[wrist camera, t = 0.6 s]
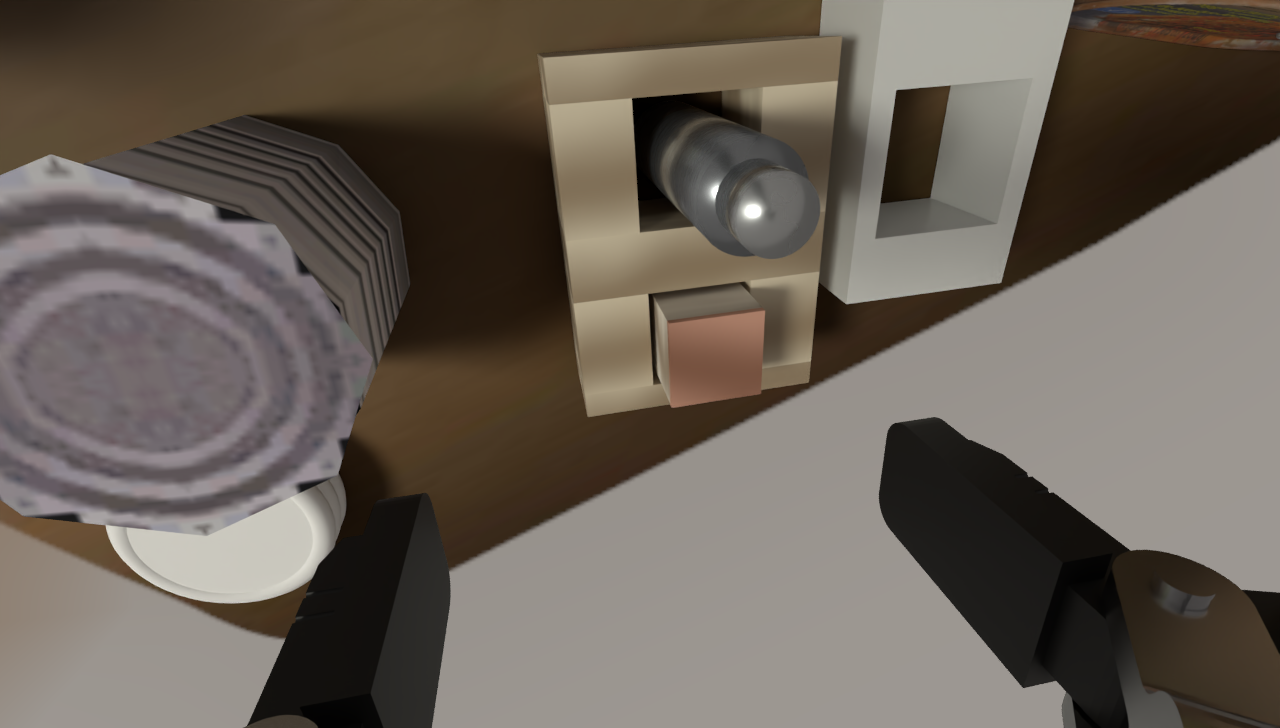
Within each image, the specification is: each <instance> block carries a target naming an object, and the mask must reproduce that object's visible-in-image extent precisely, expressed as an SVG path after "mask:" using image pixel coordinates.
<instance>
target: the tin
mask: <svg viewBox="0 0 1280 728" xmlns="http://www.w3.org/2000/svg"><path fill="white" fill-rule="evenodd" d="M1068 28H1074V29H1079V30H1085V31H1092V32H1100V33H1106V34H1115V35H1121V36H1129V37H1135V38H1143V39H1149V40H1157V41H1163V42H1170V43H1177V44H1185V45H1192V46H1199V47H1210V48H1223V49H1240V50H1275V51H1280V0H1074V4H1073V8H1072V11H1071V15H1070V19H1069V23H1068Z"/></svg>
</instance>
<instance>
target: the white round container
mask: <svg viewBox="0 0 1280 728" xmlns="http://www.w3.org/2000/svg"><path fill="white" fill-rule="evenodd" d="M345 513H346V493H345V489H344V485H343V482H342V480H341V477H340V475H339V473H338V476H336V477H334V478H331V479H329V480H327V481H325V482H323V483H321V484H318V485H316V486H314V487H312V488H310V489H308V490H305V491H303V492H301V493H299V494H297V495H295V496H292V497H290V498H288V499H286V500H284V501H282V502H279V503H277V504H275V505H273V506H271V507H269V508H266V509H264V510H262V511H260V512H258V513H256V514H253V515H251V516H249V517H247V518H245V519H243V520H240V521H238V522H236V523H234V524H232V525H230V526H227V527H225V528H223V529H221V530H219V531H217V532H214V533H212V534H210V535H208V536H202V535H193V534H183V533H174V532H165V531H155V530H146V529H137V528H128V527H118V526H109V525H106V530H107V533H108V536H109V539H110V541H111V543H112V545H113V547H114V549H115V551H116V552H117V553H118V554H119V556H120V557H121V558H122V560H123V561H124V562H125V563H126V564H127V565H129V566H130V567H131V568H132V569H133V570H134V571H135V572H136V573H138V574H139V575H140V576H141V577H143V578H144V579H146V580H148V581H149V582H151V583H152V584H154V585H156V586H158V587H160V588H162V589H164V590H166V591H169V592H172V593H174V594H177V595H180V596H184V597H187V598H191V599H195V600H201V601H206V602H216V603H246V602H254V601H261V600H265V599H270V598H273V597H277V596H280V595H283V594H285V593H288V592H290V591H293V590H295V589H297V588H298V587H300V586H302V585H304V584H305V583H307V582H308V581H309V580H311V579H312V578H313V576H314V574H315V571H316V569H317V567H318V565H319V563H320V562H321V561H322V560H323V559H324V558H325V557H326V556H327V555H328V554H329V553H330V552H331V551H332V550H333V548H334V546H335V542H336V540H337V538H338V535H339V532H340V529H341V525H342V523H343V520H344V517H345Z"/></svg>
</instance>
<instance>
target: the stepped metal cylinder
mask: <svg viewBox="0 0 1280 728" xmlns="http://www.w3.org/2000/svg"><path fill="white" fill-rule="evenodd" d="M634 142H635V159H636V164H637V166H638V168H639V169H640V170H641V171H642V172H643V173H644V174H645V175H646V176H647V177H648V179H649V180H650V181H651V182H652V183H653V184H654V185H655V186H656V187H657V188H658V189H659V190H660V191H661V192H662V193H663V194H664V195H665V196H666V197H667V198H668V199H669V200H670V201H671V202H672V203H673V204H674V205H675V207H676V208H677V209H678V210H679V211H680V212H681V213H682V214H683V215H684V216H685V217H686V218H687V219H688V220H689V221H690V222H691V223H692V224H693V225H694V226H695V227H696V228H697V229H698V230H699V231H700V232H701V233H702V234H703V236H704V237H705V238H706V239H707V240H708V241H709V242H710V243H711V244H712V245H713V246H715V247H716V248H717V249H719V250H721V251H722V252H724V253H727V254H730V255H734V256H740V257H749V256H758V257H761V258H765V259H778V258H783V257H786V256H788V255H791V254H793V253H794V252H796V251H797V250H799V249H800V248H801V247H802V246H803V245H805V244H806V242H807V241H808V240H809V239H810V237H811V236H812V235H813V233H814V231H815V229H816V227H817V224H818V221H819V217H820V200H819V196H818V193H817V191H816V189H815V187H814V186H813V184H812V183H811V182H810V181H809V178H808V174H807V170H806V167H805V165H804V163H803V161H802V159H801V157H800V156H799V155H798V154H797V152H796V151H795V150H794V149H793V148H791V147H790V146H789V145H787V144H786V143H784V142H782V141H780V140H778V139H775V138H773V137H770V136H768V135H765V134H762V133H760V132H757V131H755V130H752V129H750V128H747V127H745V126H742V125H739V124H737V123H734V122H732V121H729V120H727V119H724V118H722V117H719V116H716V115H714V114H711V113H709V112H706V111H704V110H701V109H699V108H696V107H694V106H691V105H688V104H686V103H683V102H680V101H675V100H667V101H662V102H658V103H656V104H654V105H652V106H651V107H649V108H648V109H647V110H645V111H644V112H643V114H642V115H641V116H640V117H639V119H638V120H637V122H636V124H635V126H634Z"/></svg>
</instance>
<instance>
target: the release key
mask: <svg viewBox="0 0 1280 728" xmlns="http://www.w3.org/2000/svg"><path fill="white" fill-rule="evenodd" d="M648 300H649V318H650V336H651V354H652V363H653V365H654V368H655V370H656V372H657V375H658V377H659V379H660V382H661V384H662V386H663V389H664V391H665V393H666V395H667V398H668V400H669V402H670V405H671V407H672V408H674V407H681V406H687V405H693V404H700V403H706V402H712V401H719V400H725V399H731V398H738V397H744V396H750V395H757V394H761V382H762V362H763V343H764V323H765V310H764V309H763V308H762V307H761V305H760V304H759V303H758V302H757V301H756V300H755V299H754V298H753V297H752V296H751V295H750V294H749V292H748V291H747V290H746V289H745V288H744V287H743V286H742V285H741V284H740V283H739V282H736V283H728V284H720V285H713V286H705V287H697V288H690V289H682V290H674V291H666V292H659V293H651V294H648Z"/></svg>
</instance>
